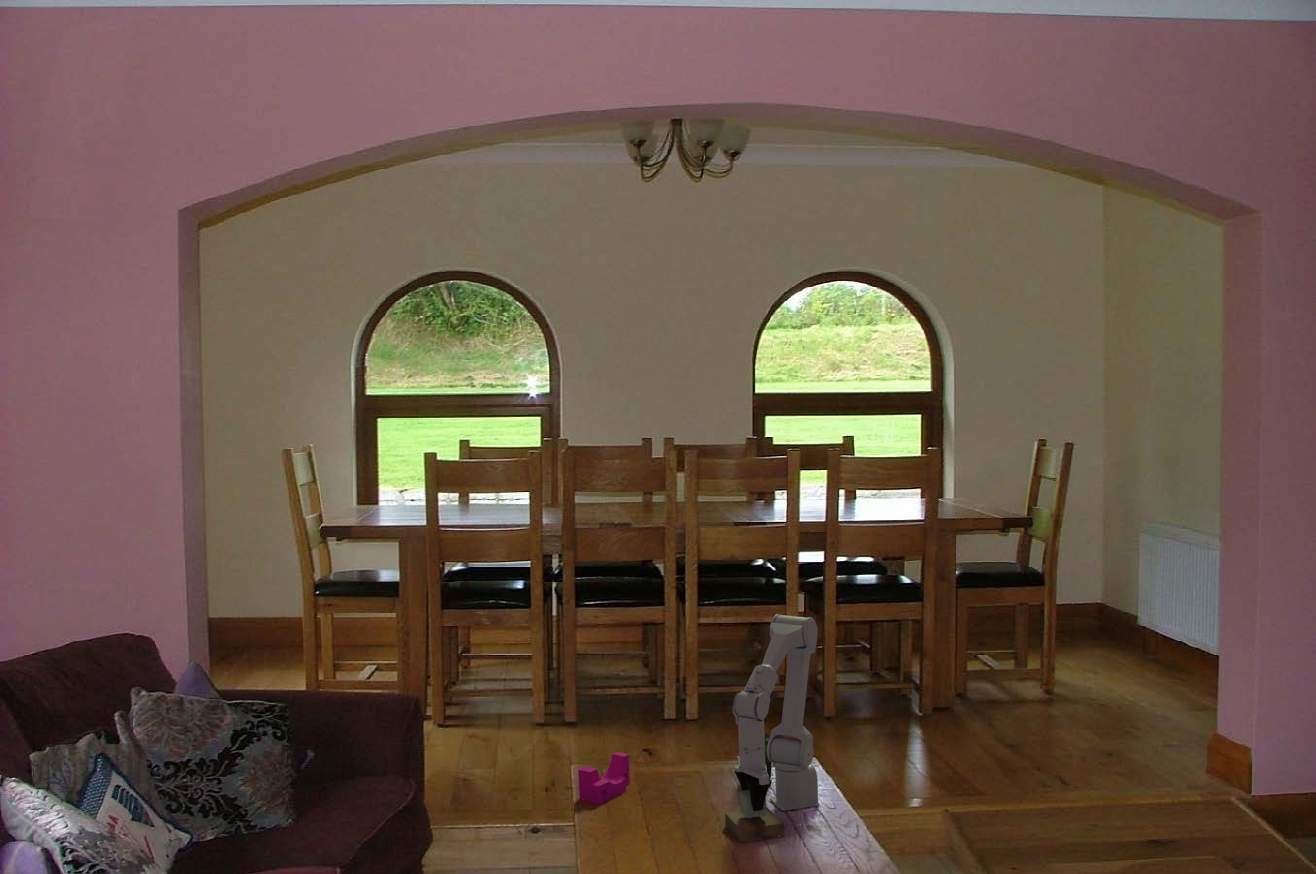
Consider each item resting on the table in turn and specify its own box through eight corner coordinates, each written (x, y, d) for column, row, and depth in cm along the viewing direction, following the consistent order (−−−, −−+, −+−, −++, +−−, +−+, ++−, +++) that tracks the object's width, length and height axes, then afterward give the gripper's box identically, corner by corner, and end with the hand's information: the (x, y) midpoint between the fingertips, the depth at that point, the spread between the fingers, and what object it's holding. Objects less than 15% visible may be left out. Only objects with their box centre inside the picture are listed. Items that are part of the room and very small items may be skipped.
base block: (767, 819, 274) (766, 807, 274) (784, 836, 265) (783, 822, 265) (725, 826, 271) (725, 813, 271) (741, 843, 262) (740, 829, 262)
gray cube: (759, 808, 271) (758, 788, 270) (766, 815, 266) (765, 795, 266) (740, 810, 269) (739, 791, 269) (747, 818, 265) (746, 798, 265)
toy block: (599, 804, 288) (598, 774, 287) (579, 799, 291) (578, 769, 291) (637, 785, 300) (636, 756, 299) (618, 781, 303) (617, 751, 303)
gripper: (723, 738, 273) (725, 797, 274) (746, 758, 259) (748, 820, 260) (752, 734, 275) (754, 793, 276) (777, 754, 261) (779, 815, 262)
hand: (753, 806), depth 268 cm, fingers closed on gray cube, 4 cm apart
